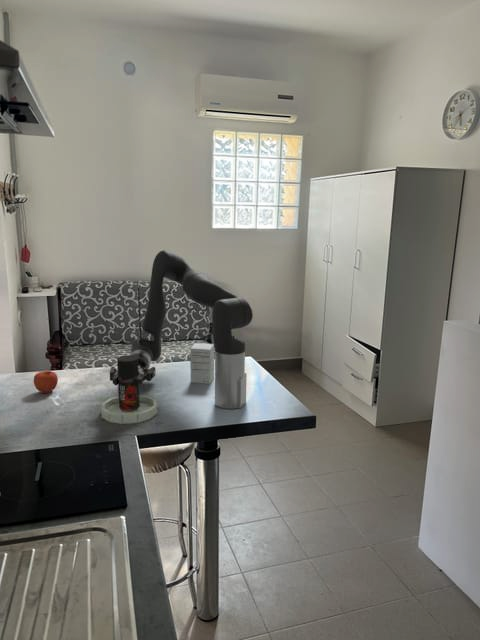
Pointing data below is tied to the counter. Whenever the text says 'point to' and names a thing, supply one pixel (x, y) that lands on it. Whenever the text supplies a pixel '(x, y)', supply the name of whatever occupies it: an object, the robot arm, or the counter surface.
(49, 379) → the apple
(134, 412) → the round tray
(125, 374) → the deodorant
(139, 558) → the counter surface
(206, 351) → the supplement box
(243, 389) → the robot arm
